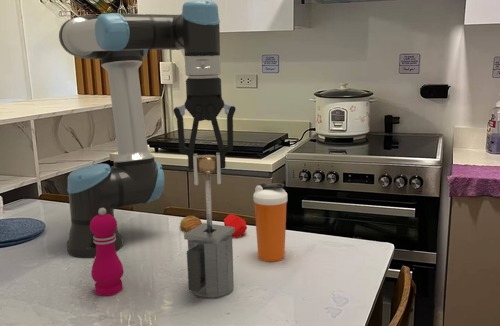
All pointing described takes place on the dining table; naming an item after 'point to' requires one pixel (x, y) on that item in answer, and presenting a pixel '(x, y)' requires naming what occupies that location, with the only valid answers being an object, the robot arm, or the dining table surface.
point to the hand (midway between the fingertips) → (207, 182)
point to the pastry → (189, 223)
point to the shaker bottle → (270, 220)
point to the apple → (236, 224)
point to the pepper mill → (106, 255)
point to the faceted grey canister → (210, 261)
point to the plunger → (207, 182)
